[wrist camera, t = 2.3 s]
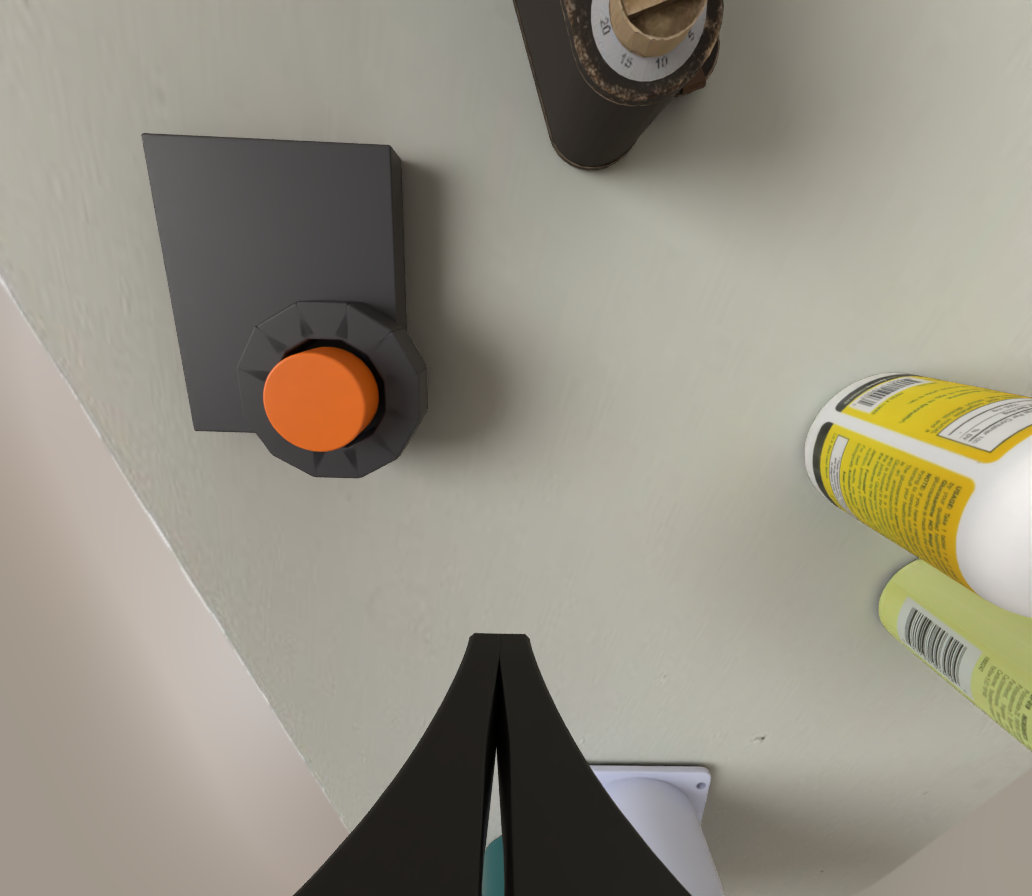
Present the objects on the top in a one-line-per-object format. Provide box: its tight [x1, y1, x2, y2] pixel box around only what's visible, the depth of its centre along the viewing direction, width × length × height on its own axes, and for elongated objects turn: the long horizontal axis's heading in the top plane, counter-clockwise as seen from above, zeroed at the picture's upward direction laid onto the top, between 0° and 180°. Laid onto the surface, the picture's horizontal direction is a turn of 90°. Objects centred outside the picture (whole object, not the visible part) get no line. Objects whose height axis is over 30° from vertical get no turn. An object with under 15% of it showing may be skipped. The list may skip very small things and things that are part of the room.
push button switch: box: [142, 133, 428, 478], centre depth 17 cm, size 11×9×4 cm
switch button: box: [263, 347, 379, 452], centre depth 16 cm, size 3×3×2 cm
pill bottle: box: [805, 373, 1032, 618], centre depth 16 cm, size 6×6×11 cm
